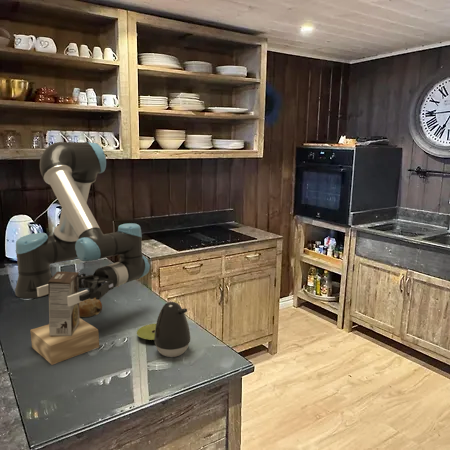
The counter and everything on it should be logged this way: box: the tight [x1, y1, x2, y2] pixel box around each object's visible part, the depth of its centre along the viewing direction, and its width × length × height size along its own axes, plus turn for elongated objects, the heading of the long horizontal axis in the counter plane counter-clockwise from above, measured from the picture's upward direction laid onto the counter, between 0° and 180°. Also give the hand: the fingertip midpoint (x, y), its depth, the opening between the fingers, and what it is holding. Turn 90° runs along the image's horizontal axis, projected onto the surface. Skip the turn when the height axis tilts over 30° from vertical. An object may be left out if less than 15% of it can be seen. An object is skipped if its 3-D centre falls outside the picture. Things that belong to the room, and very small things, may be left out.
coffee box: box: [48, 271, 80, 336], centre depth 118 cm, size 9×6×16 cm
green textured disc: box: [136, 322, 157, 341], centre depth 127 cm, size 11×11×2 cm
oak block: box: [29, 317, 100, 366], centre depth 120 cm, size 14×14×6 cm
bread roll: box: [79, 298, 103, 318], centre depth 145 cm, size 10×10×8 cm
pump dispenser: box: [153, 301, 191, 358], centre depth 116 cm, size 10×10×15 cm
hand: (52, 296), depth 115 cm, fingers open, 13 cm apart
